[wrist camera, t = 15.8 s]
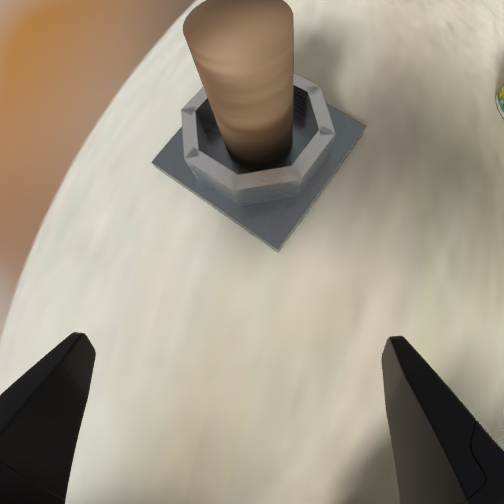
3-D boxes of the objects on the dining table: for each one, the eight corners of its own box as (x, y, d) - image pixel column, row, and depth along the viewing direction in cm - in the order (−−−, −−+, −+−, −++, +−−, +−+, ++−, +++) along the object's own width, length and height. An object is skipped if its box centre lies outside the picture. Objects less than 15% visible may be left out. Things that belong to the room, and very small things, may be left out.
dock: (363, 132, 24) (374, 104, 20) (278, 252, 23) (276, 240, 19) (244, 69, 26) (239, 39, 22) (156, 167, 25) (136, 144, 21)
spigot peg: (305, 133, 23) (314, 9, 11) (266, 182, 23) (248, 67, 11) (252, 104, 24) (229, -17, 12) (212, 149, 24) (161, 35, 12)
